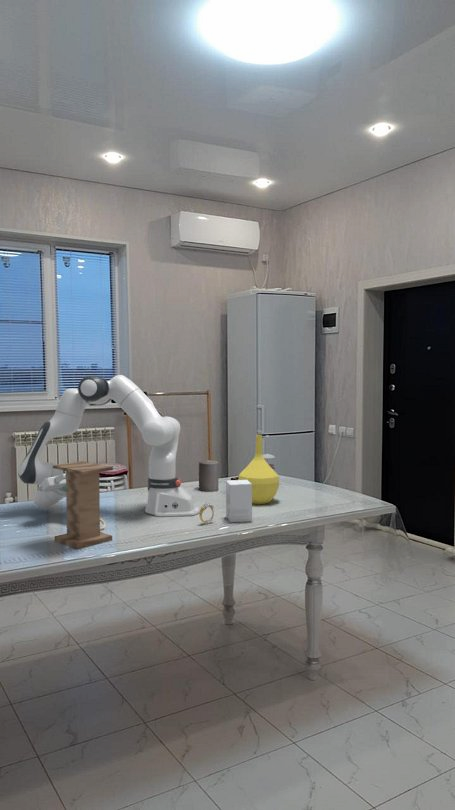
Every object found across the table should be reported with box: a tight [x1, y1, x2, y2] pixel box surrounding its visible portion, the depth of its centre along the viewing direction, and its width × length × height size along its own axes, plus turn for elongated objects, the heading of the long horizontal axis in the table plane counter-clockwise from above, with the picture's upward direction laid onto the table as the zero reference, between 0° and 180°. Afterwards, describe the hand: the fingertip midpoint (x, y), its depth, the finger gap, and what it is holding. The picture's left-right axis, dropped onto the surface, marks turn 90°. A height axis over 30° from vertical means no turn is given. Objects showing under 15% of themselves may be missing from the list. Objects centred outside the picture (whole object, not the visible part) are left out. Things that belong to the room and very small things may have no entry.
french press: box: [262, 434, 276, 472], centre depth 310 cm, size 10×12×25 cm
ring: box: [198, 502, 216, 524], centre depth 233 cm, size 7×3×8 cm, turn 122°
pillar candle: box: [198, 458, 219, 493], centre depth 294 cm, size 10×10×15 cm
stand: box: [53, 460, 114, 550], centre depth 209 cm, size 18×14×26 cm
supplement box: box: [225, 479, 253, 523], centre depth 239 cm, size 9×9×15 cm
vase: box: [237, 434, 280, 505], centre depth 269 cm, size 18×18×30 cm
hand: (75, 473), depth 232 cm, fingers open, 8 cm apart
